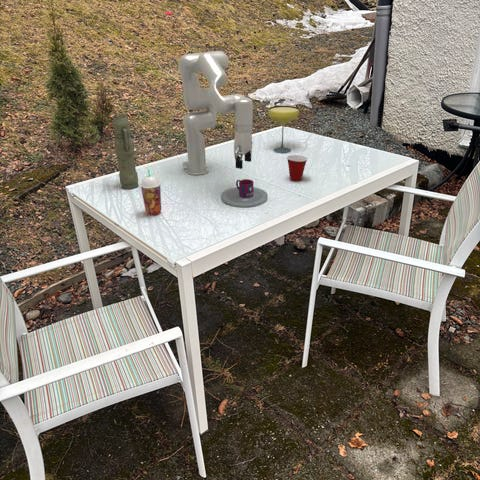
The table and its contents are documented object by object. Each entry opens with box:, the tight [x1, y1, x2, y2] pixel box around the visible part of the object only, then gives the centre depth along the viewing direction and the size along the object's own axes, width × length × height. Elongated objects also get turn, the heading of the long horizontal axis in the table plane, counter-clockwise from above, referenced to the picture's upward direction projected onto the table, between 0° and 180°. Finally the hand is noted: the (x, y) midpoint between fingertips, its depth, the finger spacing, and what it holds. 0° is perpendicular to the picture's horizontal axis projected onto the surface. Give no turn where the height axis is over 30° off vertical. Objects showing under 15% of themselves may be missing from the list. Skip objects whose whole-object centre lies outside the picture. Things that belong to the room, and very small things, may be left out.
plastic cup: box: [286, 154, 309, 182], centre depth 225 cm, size 11×11×12 cm
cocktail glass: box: [267, 105, 300, 154], centre depth 263 cm, size 18×18×25 cm
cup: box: [235, 178, 255, 198], centre depth 206 cm, size 7×10×7 cm
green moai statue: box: [112, 114, 140, 191], centre depth 213 cm, size 9×12×35 cm
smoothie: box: [140, 169, 162, 216], centre depth 190 cm, size 8×8×20 cm
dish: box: [220, 186, 269, 209], centre depth 207 cm, size 22×22×1 cm
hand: (243, 164), depth 200 cm, fingers open, 9 cm apart
